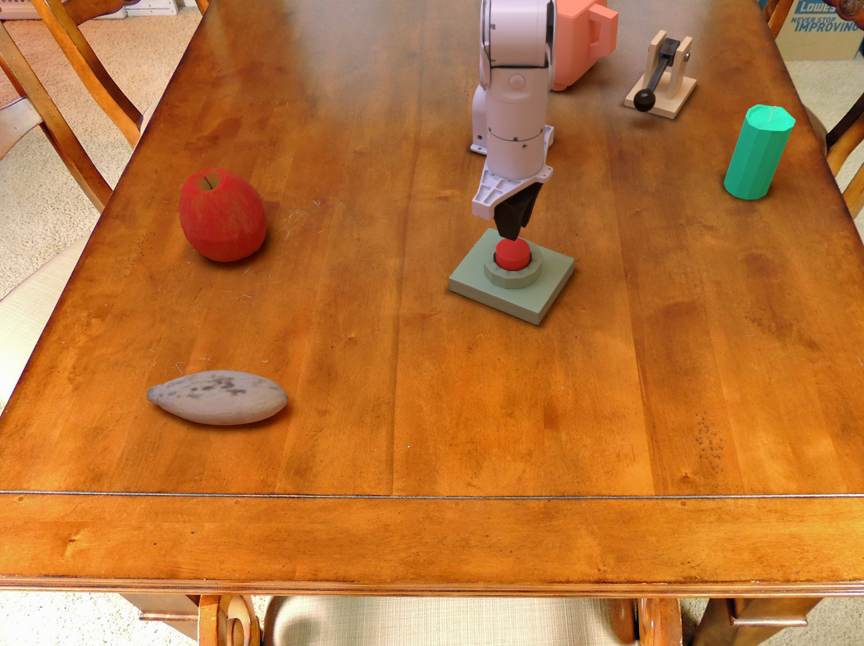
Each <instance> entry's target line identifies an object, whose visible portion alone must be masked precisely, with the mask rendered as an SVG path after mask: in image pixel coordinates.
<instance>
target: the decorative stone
mask: <svg viewBox="0 0 864 646" xmlns="http://www.w3.org/2000/svg"><path fill="white" fill-rule="evenodd" d="M146 400H147V401H148V402H150V403H151V404H153V405H155V406H158V407H160V409H163V410H164V411H166V412H168V413H170V414H173V415H174V416H176V417H179V418H181V419H184V420H188V421H189V422H195V423H199V424H203V425H204V424H205V425H213V426H233V425H243V424H250V423H256V422H260V421H262V420H265V419H268V418H271V417H273V416H275V415H276V414H277V413H279V412H280V411H281V410H283V408H285V407H286V406H287V404H288V401H289V396H288V394H287V391H286V390H285V389H284V388H283V387H282V386H281V385H280V384H279V383H277V382H276V381H275V380H273V379H271V378H268V377H265V376H261V375H259V374H255V373H250V372H246V371H241V370H233V369H232V370H231V369H215V370H205V371H199V372H195V373H189V374H186V375H183V376H180V377H176V378H174V379H172V380H168V381H165V383H160V384H159V383H158V384H156V385H154V386H152V387H151V386H150V388H149V389H148V390H147V391H146Z"/></svg>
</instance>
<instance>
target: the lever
mask: <svg viewBox="0 0 864 646" xmlns="http://www.w3.org/2000/svg"><path fill="white" fill-rule="evenodd" d="M680 45H681V40H678V39H674V38H670V37H666V38H665V41H664V43H663V45H662V47H661V49H660V51H659V57H658V65H657V67H656V69H655V71H654V73H653V75H652V77H651V79H650V81H649V83H648V85H647V87H646V89H641V90H639V91H638V92H637V93H636V94H635V96H634V99H633V104H634V107H635V108H636V109H635V108H634V109H635V110H637V112H640V113H649V112H648V111H650V110H651V109H652V108H653V107H654V105H655V103H656V96H655V94H654V91H655V89H656V87H657V85H658V83H659V81H660V79H661V77H662V75H663V73H664V71H666V70H667V68H673V63H674V59H675V54H676V50H677V49H678V47H679V46H680Z"/></svg>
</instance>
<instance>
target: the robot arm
mask: <svg viewBox="0 0 864 646" xmlns="http://www.w3.org/2000/svg"><path fill="white" fill-rule="evenodd" d="M557 23H558V7H557V1H556V0H481V2H480V8H479V84H478V85H477V87H476V89H475V92H474V94H473V98H472V102H471V121H472V122H471V125H472V126H471V127H472V128H471V129H472V130H471V131H472V143H471V145H470V151H472V152H475V153H478V154H481V155H484V156H486V158H485V161H484V165H483V169H482V173H481V176H480V180H479V184H478V187H477V191H476V193H475V195H474V197H473V198H472V199H471V211H472V213H471V215H472V216H473V217H476V218H478V219H481V220H485V221H488V222H491V220H493V221H494V224H495V226H496V230H498V233H499V235H500V236H501V237H504V238H506V239H509V240H512V241H516V239H517V238H518V237H520V233H521V228H524V229H525V228H527V226H528V224H529V222H530V219H531V217H532V214H533V210H534V206H535V204H536V201H537V199H538V196H539V194H540V192H541V190H542V188H543V186H544V185H545V184H546V183H547V182H549V181H550V179H551V178H552V176H553V175H554V167H552V166H550V165H548V164H547V163H546V162H547V156H548V151H549V147H551V146H552V145H553V144H554V137H555V136H554V135H555V127H554V126H551V125H548V124H546V121H547V105H548V92H550V91H551V90H552V88H553V87H554V81H555V67H556V42H557Z"/></svg>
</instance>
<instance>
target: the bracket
mask: <svg viewBox="0 0 864 646" xmlns="http://www.w3.org/2000/svg"><path fill="white" fill-rule="evenodd" d="M667 32H668V31H667V30H663V29H660V30H659V31H658V33H657V34H656V35H655V37H653V39H652V40H651V42H650V43H649V46H648V50H647V58H646V63H645V69H644V72H643V74H642V75H641V77H640V78H639V79H638V80H637V82H636V83H635V84H634V85H633V87H632V88H631V90H630V91H629V92H628V94H627V95H626V97H625V98H624V103H623V106H625V107H629V108H632V109H634V110H637V109H636V108H635V107H634V104H633V99H634V96H635V94H636V93H637V92H638V91H639V90H641V89H646V87H647V85H648V83H649V81H650V79H651V77H652V75H653V73H654V71H655V69H656V67H657V65H658V57H659V51H660V49H661V47H662V45H663V43H664V41H665V39H666V38H667V34H668V33H667ZM693 40H694V37H692V36H688V35H686V36H685V37H684V38H683V40H682V42H680V46H679V47H678V49H677V50H676V54H675V59H674V63H673V66H672V67H671V68H672V69H671V72H669V71H666V70H665V71H664V73H663V75H662V77H661V79H660V81H659V83H658V85H657V87H656V89H655V91H654V94H655V96H656V103H655V105H654V107H653V108H652V109H651V110H650V111H648V112H647V113H650V114H653V115H656V116H659V117H660V116H661V117H664V118H667V119H671V120H674V119H675V118H676V116H677V115H678V113H679V112H680V110H681V109H682V107H683V106H684V104H685V103H686V101H687V100H688V98H689V97H690V95H691V94H692V92H693V90H694V89H695V87H696V84H697V81H698V80H697V79H696V78H692V77H688V76H685V74H686V69H687V65H688V62H689V60H690V57H691V48H692V44H693Z"/></svg>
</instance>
